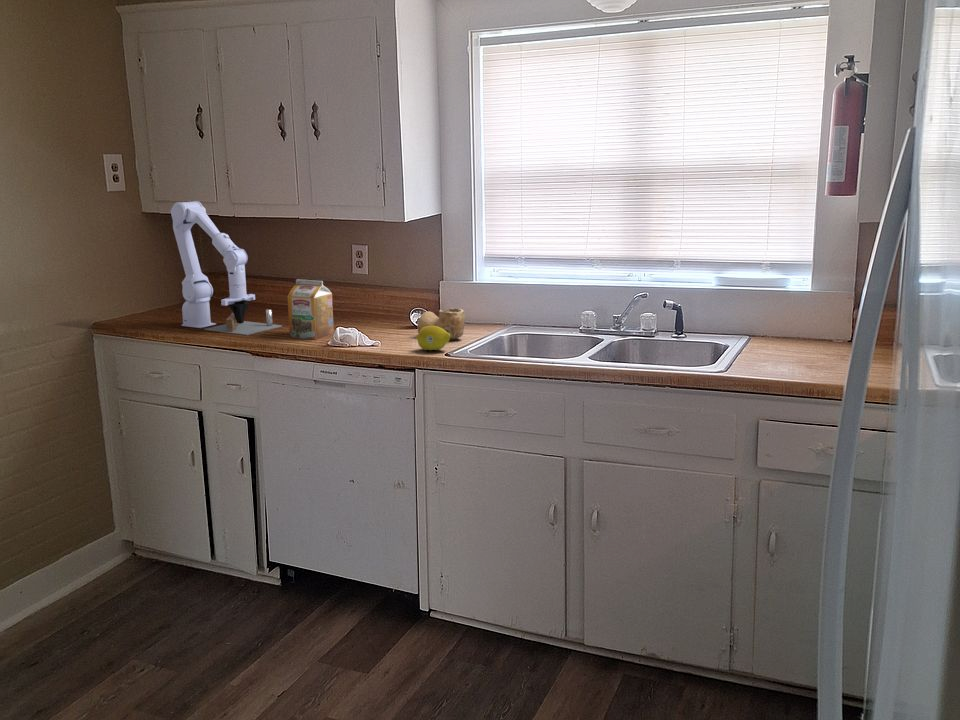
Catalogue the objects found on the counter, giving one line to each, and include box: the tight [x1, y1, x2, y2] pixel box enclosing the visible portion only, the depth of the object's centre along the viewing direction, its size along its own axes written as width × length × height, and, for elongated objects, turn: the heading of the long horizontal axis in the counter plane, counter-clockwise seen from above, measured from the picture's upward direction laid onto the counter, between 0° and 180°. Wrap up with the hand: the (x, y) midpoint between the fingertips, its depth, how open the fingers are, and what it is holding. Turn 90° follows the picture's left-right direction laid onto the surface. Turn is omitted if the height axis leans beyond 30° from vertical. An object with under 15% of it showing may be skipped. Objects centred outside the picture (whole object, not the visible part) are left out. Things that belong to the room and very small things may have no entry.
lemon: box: [416, 326, 451, 351], centre depth 272 cm, size 11×8×8 cm
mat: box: [203, 320, 283, 336], centre depth 310 cm, size 20×18×1 cm
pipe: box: [416, 307, 466, 341], centre depth 291 cm, size 9×16×10 cm, turn 57°
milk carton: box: [287, 278, 335, 341], centre depth 295 cm, size 11×11×19 cm
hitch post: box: [265, 309, 274, 326], centre depth 312 cm, size 2×2×6 cm
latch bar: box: [225, 310, 239, 331], centre depth 309 cm, size 17×3×6 cm, turn 6°
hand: (240, 322), depth 307 cm, fingers closed
